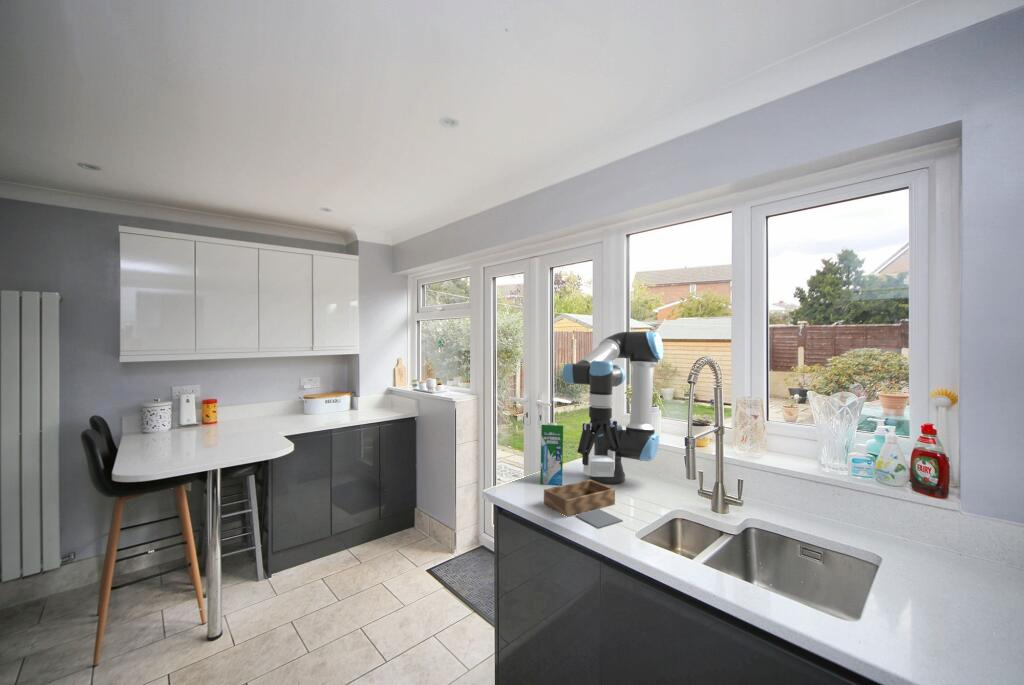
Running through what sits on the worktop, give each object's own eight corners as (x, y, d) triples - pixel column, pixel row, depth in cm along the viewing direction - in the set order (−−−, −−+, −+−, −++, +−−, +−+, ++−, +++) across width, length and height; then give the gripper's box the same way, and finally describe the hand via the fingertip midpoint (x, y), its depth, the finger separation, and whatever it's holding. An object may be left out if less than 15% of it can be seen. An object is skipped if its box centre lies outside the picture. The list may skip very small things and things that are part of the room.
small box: (614, 477, 140) (614, 461, 140) (590, 477, 140) (590, 461, 140) (608, 470, 148) (608, 455, 148) (586, 469, 148) (586, 455, 148)
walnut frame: (590, 493, 168) (590, 479, 168) (614, 504, 157) (615, 489, 157) (543, 504, 156) (543, 489, 156) (566, 517, 145) (567, 501, 145)
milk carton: (561, 478, 186) (562, 421, 186) (562, 485, 177) (563, 425, 177) (541, 477, 187) (542, 420, 187) (540, 484, 178) (541, 424, 178)
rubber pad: (599, 510, 152) (599, 508, 152) (622, 521, 142) (622, 520, 142) (575, 516, 146) (575, 515, 146) (598, 528, 136) (598, 527, 136)
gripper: (616, 402, 153) (615, 464, 153) (567, 407, 141) (565, 474, 141) (632, 405, 147) (631, 469, 147) (582, 410, 135) (581, 480, 135)
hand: (599, 471), depth 144 cm, fingers closed on small box, 10 cm apart
